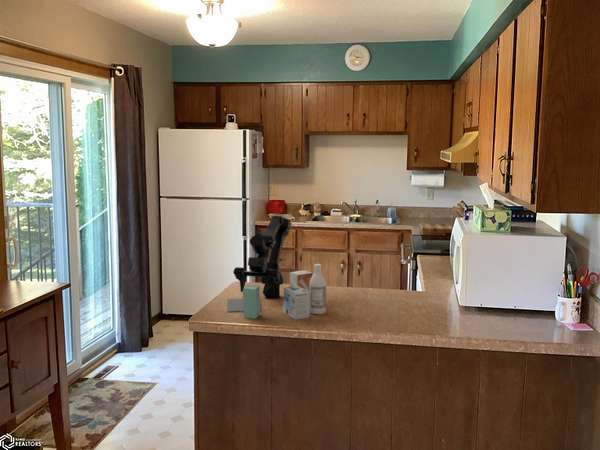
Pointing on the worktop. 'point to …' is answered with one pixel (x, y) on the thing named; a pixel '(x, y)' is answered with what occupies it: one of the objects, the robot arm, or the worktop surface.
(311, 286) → the bath foam
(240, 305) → the mat
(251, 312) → the teal block
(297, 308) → the light bulb box
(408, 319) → the worktop surface
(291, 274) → the small box
